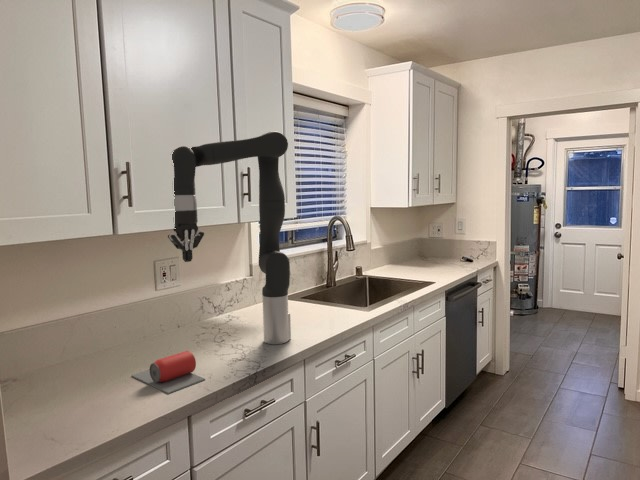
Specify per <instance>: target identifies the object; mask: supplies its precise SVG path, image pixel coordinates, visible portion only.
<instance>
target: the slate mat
mask: <svg viewBox="0 0 640 480" xmlns="http://www.w3.org/2000/svg"><path fill="white" fill-rule="evenodd" d="M131 377H132V378H134V379H136V380H139V381H140V382H143V383H144V384H146V385H149V386H150V387H153V388H155V389H157V390H159V391H161V392H163V393H165V394H168V395H170V394H173V393H176V392H178V391H181V390H183V389H185V388H188V387H190V386H191V387H192V386H193V385H196V384H199V383H200V382H203V381H205V380H206V378H204V377H201V376H200V375H197V374H195V373H193V372H191V373H188V374H185V375H183V376H180V377H177V378H174V379H171V380H168V381H166V382H157V383H156V382H154V381H153V380H152V378H151V376H150V370H149V369H146V370H144V371H140V372H136V373H134V374H131Z"/></svg>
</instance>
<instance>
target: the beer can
mask: <svg viewBox="0 0 640 480" xmlns="http://www.w3.org/2000/svg"><path fill="white" fill-rule="evenodd" d="M196 367H197V360H196V358H195V355H194V354H193V353H192V352H191V351H189V350H185V351H181V352H178V353H176V354H171V355H169V356H166V357H163V358H160V359H157V360H156V361H154V362H152V363H151V364H150V366H149V369H148V370H150V376H151V378H152V380H153V381H154V382H156V383H157V382H166V381H168V380H171V379H174V378H177V377H180V376H183V375H185V374H188V373H193V372H194V371H195V369H196Z"/></svg>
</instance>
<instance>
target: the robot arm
mask: <svg viewBox="0 0 640 480" xmlns="http://www.w3.org/2000/svg"><path fill="white" fill-rule="evenodd" d="M188 147H189V146H184V145H183V146H179V147H177V148H174V149H173V151H174V152H173V151H172V152H173V154H172V160H173V163H174V166H173V174H174V175H173V176H174V177H173V179H174V191H175V192H174V194H175V196H174V195H173V196H174V197H175V199H174V206H175V211H176V212H175V224H174V227H173V231H172V232H171V234H168V235H167V238H168V239H169V241H170V242H171V243H172V245H173V246H174V247H175V248H176V249H177V250H178V249H179V250H181V252H182V260H183V262H185V263H190V262H192V260H193V250H194V249H196V248H198V246H199V244H200V243H201V241H202V239H203V237H204V236H205V233H204V231H201V230H200V229H199V225H197V224H198V205H197V204H198V203H197V196H196V183H195V181H196V180H195V178H196V177H195V176H196V168H197V167H201V166H203V167H204V166H212V165H219V164H225V163H231V162H235V161H239V160H243V159H249V158H257V162H258V173H259V177H258V179H259V181H258V193H259V194H258V212H259V235H260V236H259V238H260V240H259V249H258V267H259V269H260V271H261V272H262V273H263V274H265V285H264V286H263V287H262V289H261V291H262V292H261V293H262V319H263V321H262V323H263V327H262V328H263V342H264V343H265V344H269V345H282V344H285V343H288V342H289V341H290V340H291V339H292V333H291V332H292V330H291V329H292V327H291V314H290V313H289V293H288V292H289V288H290V283H291V281H290V280H291V266H290V260H289V257H288V256H287V254H285V253H283V252H282V251H281V250H280V234H281V230H282V227H283V223H284V220H285V215H286V197H285V192H284V188H283V184H282V181H281V179H280V173H279V161H280V158H281V157H282V156H283V155H285V154H286V153H287V150H288V148H289V142H288V139H287V137H286V136H285V134H283V133H281V132H279V131H277V130H276V131H275V130H274V131H267V132H266V133H265V132H264V133H262V134H261V135H259V136H255V137H251V138H245V139H237V140H229V141H228V140H227V141H219V142H218V141H217V142H210V143H205V144H201V145H198V146H191V147H192V148H191V149H190V148H188ZM174 228H176V229H174Z"/></svg>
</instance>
